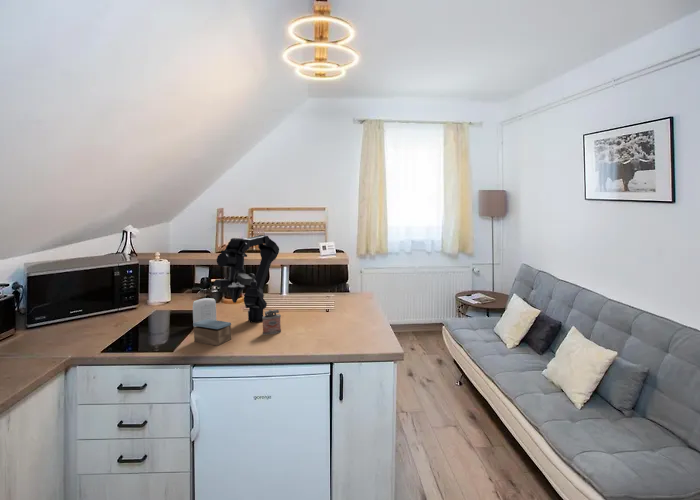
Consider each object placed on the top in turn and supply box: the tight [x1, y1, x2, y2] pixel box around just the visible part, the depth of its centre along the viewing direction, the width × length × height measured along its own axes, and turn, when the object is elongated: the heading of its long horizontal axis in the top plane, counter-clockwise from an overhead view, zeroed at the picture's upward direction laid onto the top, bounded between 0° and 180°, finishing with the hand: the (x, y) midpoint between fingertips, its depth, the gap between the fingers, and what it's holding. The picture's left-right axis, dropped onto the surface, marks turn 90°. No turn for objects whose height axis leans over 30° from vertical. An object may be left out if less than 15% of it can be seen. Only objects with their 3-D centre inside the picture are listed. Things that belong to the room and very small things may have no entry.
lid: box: [192, 319, 232, 329], centre depth 172 cm, size 8×12×1 cm, turn 67°
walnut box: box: [193, 324, 232, 347], centre depth 173 cm, size 8×12×6 cm, turn 67°
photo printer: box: [192, 297, 217, 328], centre depth 193 cm, size 10×4×12 cm, turn 123°
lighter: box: [262, 309, 282, 336], centre depth 182 cm, size 8×3×10 cm, turn 117°
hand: (234, 302), depth 184 cm, fingers closed
